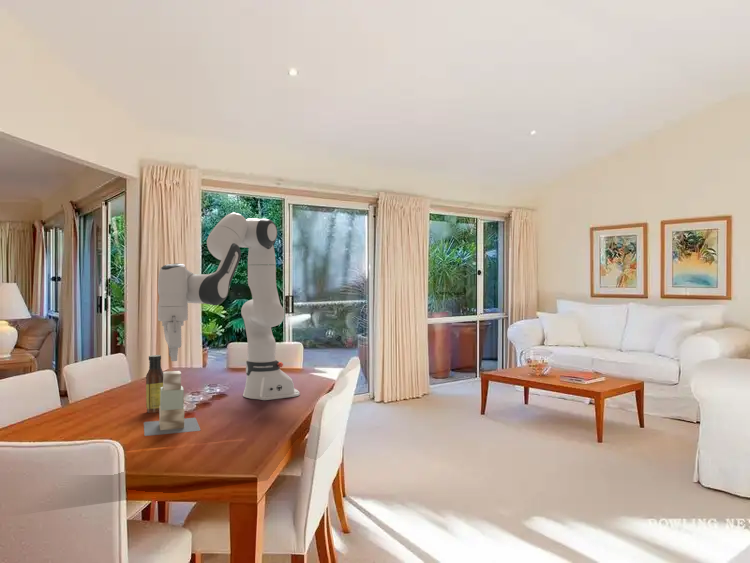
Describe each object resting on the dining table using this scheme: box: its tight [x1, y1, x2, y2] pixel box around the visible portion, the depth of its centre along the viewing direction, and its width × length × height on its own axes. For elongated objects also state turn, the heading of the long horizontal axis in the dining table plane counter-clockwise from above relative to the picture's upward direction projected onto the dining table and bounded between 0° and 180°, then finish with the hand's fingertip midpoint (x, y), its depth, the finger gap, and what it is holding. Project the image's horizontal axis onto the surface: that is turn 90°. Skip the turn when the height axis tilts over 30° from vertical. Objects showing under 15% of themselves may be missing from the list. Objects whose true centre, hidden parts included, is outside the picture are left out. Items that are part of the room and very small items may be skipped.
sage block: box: [160, 385, 185, 411], centre depth 171 cm, size 6×6×6 cm
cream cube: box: [162, 370, 182, 391], centre depth 171 cm, size 5×5×5 cm
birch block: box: [158, 406, 185, 430], centre depth 171 cm, size 7×7×6 cm
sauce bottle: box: [145, 354, 164, 414], centre depth 190 cm, size 7×6×20 cm
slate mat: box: [143, 417, 201, 437], centre depth 171 cm, size 16×16×1 cm
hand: (173, 358), depth 170 cm, fingers open, 8 cm apart
